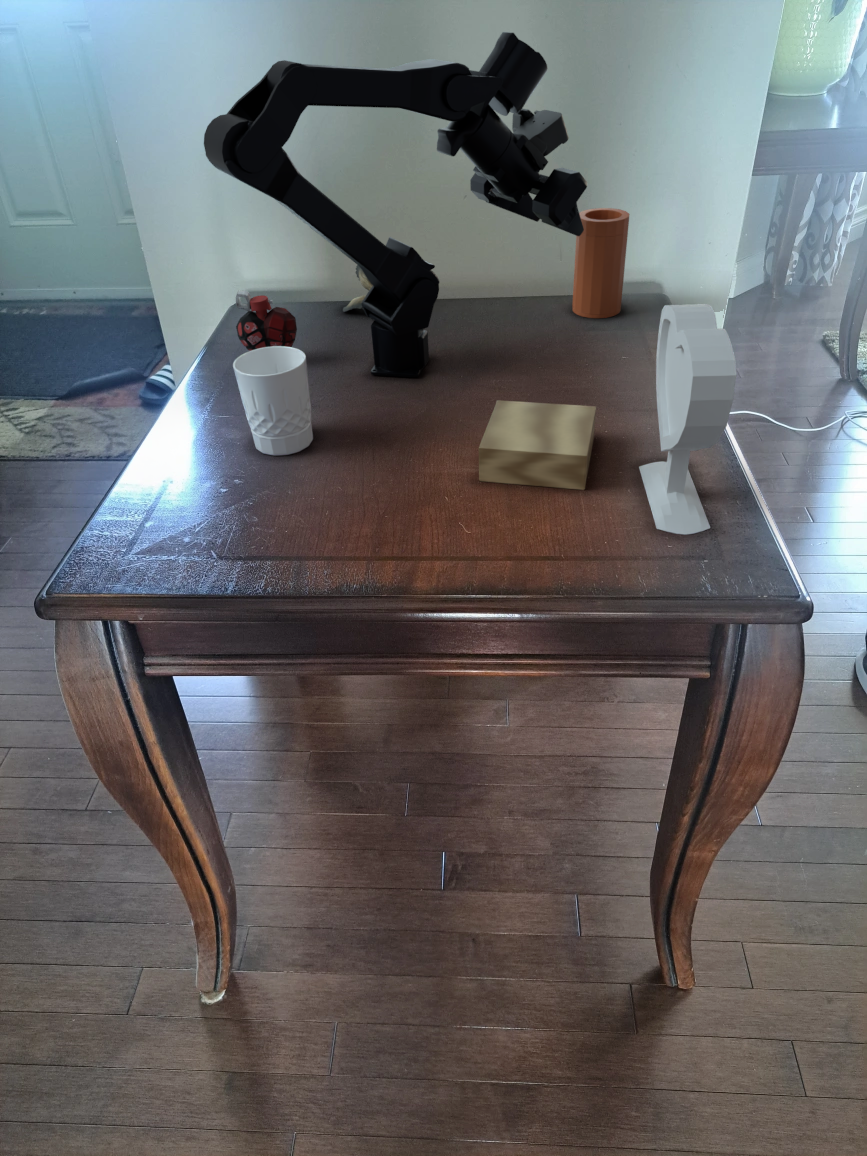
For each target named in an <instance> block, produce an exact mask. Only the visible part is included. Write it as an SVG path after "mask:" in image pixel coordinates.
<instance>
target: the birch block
mask: <svg viewBox="0 0 867 1156" xmlns="http://www.w3.org/2000/svg"><path fill="white" fill-rule="evenodd" d="M596 413H597V406H594V405H579V404H563V403H546V402H533V401H532V402H530V401H529V402H528V401H515V400H514V401H513V400H499V399H498V400H496V402H495V405H494V408H493V411H492V413H491V416H490V418H489V420H488V423H487V426H486V428H485V431H484V433H483V436H482V437H481V440H480V443H479V446H478V481H479V482H486V483H495V484H496V483H497V484H509V485H510V484H511V485H522V486H533V487H544V488H557V489H570V490H581V491H584V490H585V489H586V484H587V478H588V473H589V468H590V462H591V456H592V450H593V445H594V439H595V430H596V429H595V428H596V416H597V414H596Z"/></svg>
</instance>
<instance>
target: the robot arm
mask: <svg viewBox="0 0 867 1156" xmlns="http://www.w3.org/2000/svg"><path fill="white" fill-rule="evenodd" d="M548 70H549V69H548V64H547V61H546V60H545V58H544V57H543V55H542V54H541V53H540V52H539V51H536V50H535V49H534V48H533V47H532V46H530V45H529V44H528V43H527V42H524V41H523V40H521V39H519V38H518V37H517V35H516V33H515V32H510V31H502V32H501V34H500V35H499V37H498V38H497V40H496V42H495V45H494V47H493V48H492V50H491V52H490V53H489V55H488V57H487V58H486V59H485V61H484V63H483V64H482V66H481V67H480V69H479V70H472V69H470V68H469V67H468V66H467V65H466V64H463V63H460V62H454V61H448V60H441V59H436V58H435V59H434V58H427V59H422V60H416V61H410V62H406V63H403V64H400V65H396V66H391V67H386V68H385V67H365V66H349V65H348V66H345V65H329V64H328V65H327V64H308V63H301V62H295V61H290V60H284V59H283V60H278V61H276V62H274V63H273V64H272V65H271V66H270V68H269V69H268V71H267V72H266V73H265V74H264V75H263V77H262V78H261V79H260V81H258V82H257V83H256V84H255V85H254V86H253V87H251V88H250V89H249V90H248V91H247V92H246V93H244V94H243V95H242V96H241V97H240V98H238V100H237V101H236V102H235V103H234V104H233V105H232V106H231V108H230V109H229V110H228V111H227V113H225V114H219V115H218V116H216V117H214V118H213V119H212V120H211V121H210V122H209V123H208V125H207V126H206V129H205V131H204V136H203V148H204V152H205V156H206V158H207V161H208V162H210V164H211V165H212V166H213V167H214V168H215V169H217V170H218V171H220V172H223V173H224V174H225V175H228V176H229V177H232V178H234V179H235V180H237V181H239V182H241V183H243V184H244V185H247V186H249V187H251V188H253V189H255V190H257V191H258V192H261V193H263V194H264V195H266V196H268V197H270V198H271V199H273V200H274V201H276V202H277V203H279V204H280V205H281V206H282V207H283V208H285V209H286V211H288V212H290V213H291V214H292V215H294V217H297V218H298V219H299V220H300V222H302V223H304V224H305V225H306V226H307V227H309V229H312V230H313V232H315V233H317V235H319V236H320V237H322V239H324V240H325V241H326V242H328V243H329V244H330V245H332V246H333V247H334V248H335V249H337V250H338V251H339V252H341V254H343V255H344V256H346V257H347V258H348V259H350V261H352V262H354V263H355V264H356V266H357V265H358V266H359V267H360V268H361V269H362V271H363V272H364V274H365V276H366V277H367V279H368V280H369V282H370V283H371V284H372V285H373V286H372V287H371V289H370V290H368V292H367V293H366V294H365V295H366V296H365V298H364V299H363V301H362V303H361V305H362V307H363V308H362V310H363V312H364V314H365V316H366V317H367V318H369V319H372V320H373V321H372V322H371V324H370V334H371V340H372V352H373V363H374V365H373V366H372V368H371V370H370V374H371V375H372V376H386V377H401V378H418V377H419V376H420V374H421V372H422V371H423V369H424V368H426V365H427V364H428V362H429V361H430V349H429V348H430V347H429V333H428V331H427V330H426V329H427V328H429V325H430V321H431V318H432V315H433V309H434V305H435V303H436V302H437V299H438V298H439V293H440V279H439V277H438V276H437V274H436V273H435V272H434V271H433V270H434V269H435V268H436V265H435V264H433V263H431V262H429V261H426V260H425V259H423V257H422V256H421V255H420V254H419V252H418V251H417V250H416V249H414V247H413V246H410V245H409V244H406V243H404V242H403V241H400V240H398V239H395V238H393V237H391V236H389V237H388V239H387V241H386V244H384V242H382V241H381V240H379V239H378V238H377V237H376V236H375V235H373V234H372V233H371V231H369V230H367V229H366V228H365V227H364V226H363V225H362V224H360V223H359V222H358V221H357V220H356V219H354V217H352V216H351V215H350V214H349V213H348V212H346V211H345V210H344V209H342V208H341V207H340V206H339V205H338V204H337V203H335V202H334V201H333V200H332V199H330V198H329V197H328V196H327V195H326V194H325V193H323V191H321V190H320V189H319V188H318V187H316V186H315V185H314V184H313V183H312V182H311V181H309V180H308V179H307V178H306V177H305V176H303V175H302V174H301V173H300V172H299V170H298V168H297V167H296V165H295V164H294V162H293V160H292V159H291V157H290V156H289V154H288V152H286V150H284V148H283V147H284V145H286V143H287V142H288V141H289V139H290V138H291V136H292V134H293V133H294V130H295V128H296V125H297V124H298V121H299V119H300V117H301V116H302V114H303V113H304V111H305V110H306V109H307V108H308V107H309V106H310V107H311V106H312V107H345V108H349V107H350V108H381V109H382V108H383V109H384V108H385V109H400V110H403V111H408V112H412V113H415V114H419V115H423V116H426V117H427V116H428V117H431V118H434V119H439V120H444V121H446V122H447V121H448V123H447V126H445V127H443V128H438V129H437V142H436V151H437V152H438V153H439V154H443V155H445V156H450V157H456V155H457V154H458V152H459V151H461V152H462V153H463V154H464V155H465V157H466V158H467V159H468V160H469V161H470V162H471V163H472V164H473V165H474V167H473V169H472V171H473V172H474V174H473V175H472V176H471V178H470V183H469V184H470V191H471V193H473V194H474V195H475V197H476V198H477V199H478V200H481V201H483V202H485V203H487V204H490V205H492V206H495V207H497V208H500V209H503V210H505V211H508V212H510V213H513V214H516V215H517V216H521V217H523V218H526V219H528V220H531V221H534V222H539V221H540V220H541V223H543V224H545V225H548V226H551V227H553V228H557V229H559V230H561V231H563V232H566V233H569V234H571V235H574V236H575V237H576V236H580V235H581V234H582V232H583V231H584V228H583V224H582V221H581V218H580V214H579V213H580V211H579V208H578V207H579V206H578V201H579V200H580V198H581V197H582V195H583V194H584V193H585V191H586V190H587V187H588V181H587V180H586V178H585V177H584V176H583V175H582V174H581V172H580V171H577V170H573V169H570V168H567V167H558V168H553V170H552V171H551V173H550V174H549V176H548V175H546V174H541V173H540V171H544V169H545V168H546V166H547V165H548V164H549V161H548V159H547V158H546V157H547V156H548V155H550V154H551V153H552V152H553V151H555V150H556V149H558V147H560V146H561V145H564V144H566V143H567V142H568V141H569V139H570V137H569V133H568V130H567V127H566V123H565V120H564V117H563V114H562V113H561V112H559V111H554V110H548V109H541V110H537V109H536V110H534V112H532V111H531V110H530V109H528V108H524V107H525V105H526V104H527V102H528V100H529V99H530V97H532V95H533V93H534V91H535V90H536V88H537V87H538V85H539V84H540V82H541V81H542V79H543V78H544V77H545V75H546V74H547V73H548ZM510 113H512V123H511V124H512V125H511V129H510V128H509V127H508V125H506V123H505V122H504V120H502V118H501V117H500V116H499V115H501V116H503V117H507V116H508V115H509V114H510ZM498 114H499V115H498ZM531 195H535V196H534V198H533V197H532V196H531Z"/></svg>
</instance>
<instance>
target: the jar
mask: <svg viewBox="0 0 867 1156" xmlns="http://www.w3.org/2000/svg"><path fill="white" fill-rule="evenodd" d="M579 214H580V218H581V221H582V224H583V228H584V231H583V232H582V234H581V235H580V236H576V235H575V252H574V253H575V254H574V270H573V271H574V272H573V285H572V286H573V288H572V304H571V306H572V313H574V314H575V315H577V316H579V317H583V318H588V319H607V318H612V317H614V316H617V315H619V314H620V312H621V310H622V301H623V300H622V299H623V289H624V279H625V270H626V269H625V267H626V259H627V257H626V256H627V247H628V235H629V233H628V232H629V226H630V225H629V224H630V212H628V211H627V210H624V209H619V208H612V207H597V208H596V207H595V208H589V209H583V210H582V211H579Z"/></svg>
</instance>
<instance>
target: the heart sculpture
mask: <svg viewBox="0 0 867 1156" xmlns="http://www.w3.org/2000/svg"><path fill="white" fill-rule="evenodd" d="M717 324H718V323H717V317H716V312H715V310H714V309H713V307H712V305H709V304H707V303H694V304H692V303H690V304H665V305H664V306H663V308H662V309H661V312H660V320H659V326H658V332H657V333H658V335H657V345H656V356H655V360H656V361H655V364H656V365H655V375H656V376H655V389H656V390H655V391H656V392H655V394H656V407H657V408H656V409H657V410H656V411H657V420H658V421H657V422H658V431H659V445H660V452H667V458H666V461H660V460H659V461H654V462H650V463H646V464H643V465H640V466H638V469H639V472H640V476H641V479H642V483H643V486H644V491H645V493H646V496H647V500H648V503H649V507H650V510H651V513H652V518H653V521H654V524H655V528H656V529H657V530H661V531H664V532H667V533H671V534H677V535H685V536H686V535H693V534H697V533H701V532H704V531H706V530H709V529H711V526H710V522H709V520H708V517H707V514H706V512H705V510H704V507H703V504H702V502H701V499H700V497H699V494H698V491H697V489H696V486H695V483H694V481H693V478H692V476H691V473H690V470H689V463H690V457H691V452H694V451H696V452H697V451H700V450H705V449H711V448H712V447H714V446H715V445H717V444H718V443H719V442H720V439H721V438H722V436H723V433H724V432H725V430H726V428H727V426H728V423H729V418H730V415H731V410H732V406H733V403H734V395H735V390H736V389H735V388H736V382H737V363H736V357H735V353H734V348H733V345H732V342H731V339H730V338H731V337H730V336H729V333H728V332H727V330H726V328H718V325H717Z"/></svg>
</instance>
